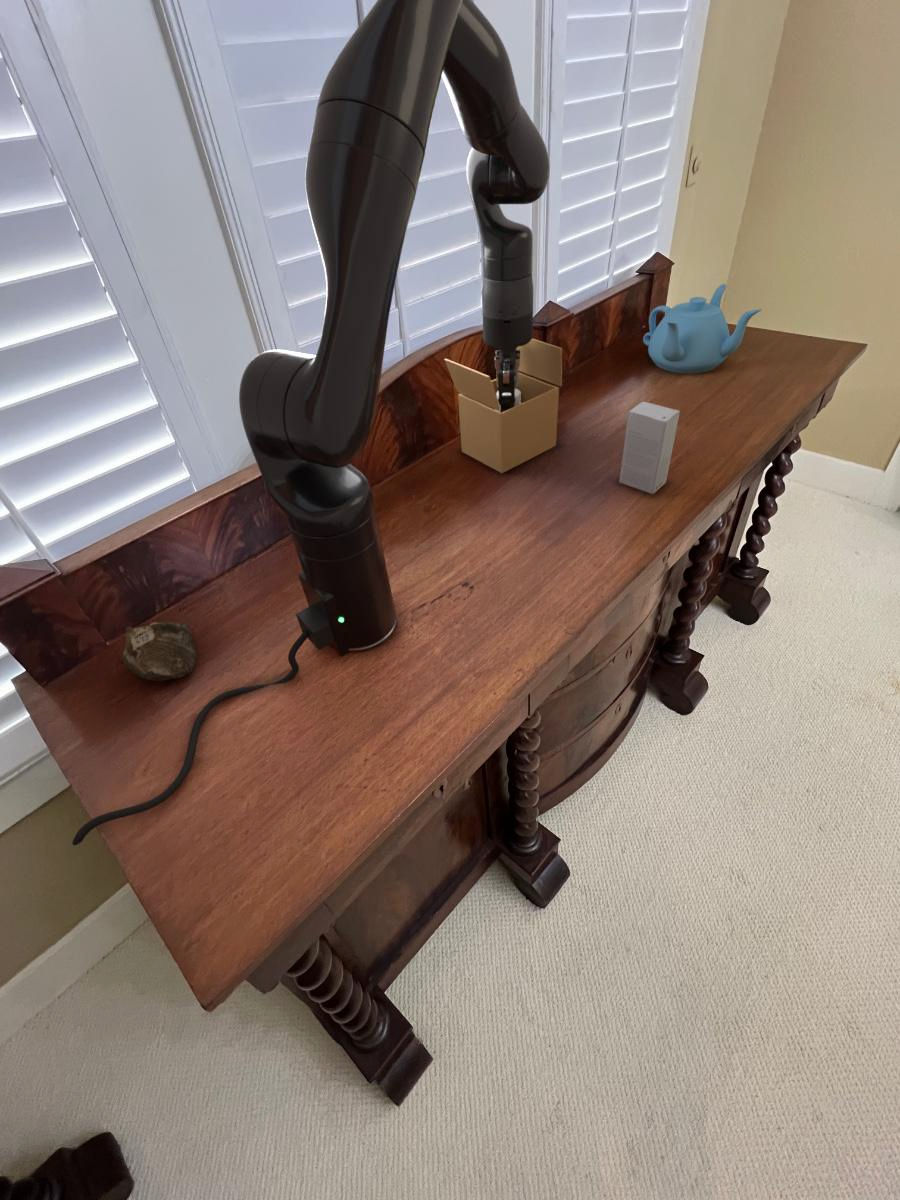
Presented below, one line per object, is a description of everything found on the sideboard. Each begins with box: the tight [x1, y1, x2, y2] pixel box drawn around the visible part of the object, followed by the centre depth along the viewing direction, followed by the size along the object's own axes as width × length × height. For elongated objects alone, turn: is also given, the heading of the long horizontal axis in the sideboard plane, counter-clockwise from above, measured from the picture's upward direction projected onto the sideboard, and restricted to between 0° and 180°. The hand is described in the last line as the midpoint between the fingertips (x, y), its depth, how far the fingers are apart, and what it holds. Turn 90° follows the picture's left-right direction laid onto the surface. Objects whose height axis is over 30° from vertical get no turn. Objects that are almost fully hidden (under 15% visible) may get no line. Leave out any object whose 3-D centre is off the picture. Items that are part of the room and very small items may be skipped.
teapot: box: [642, 283, 763, 375], centre depth 119 cm, size 17×19×12 cm
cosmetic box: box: [618, 401, 681, 495], centre depth 87 cm, size 6×4×12 cm
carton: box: [457, 337, 563, 474], centre depth 97 cm, size 14×10×17 cm
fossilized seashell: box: [121, 621, 197, 682], centre depth 69 cm, size 8×7×10 cm
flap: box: [444, 358, 501, 411], centre depth 90 cm, size 6×10×1 cm
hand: (507, 415), depth 98 cm, fingers closed on supplement bottle, 4 cm apart
